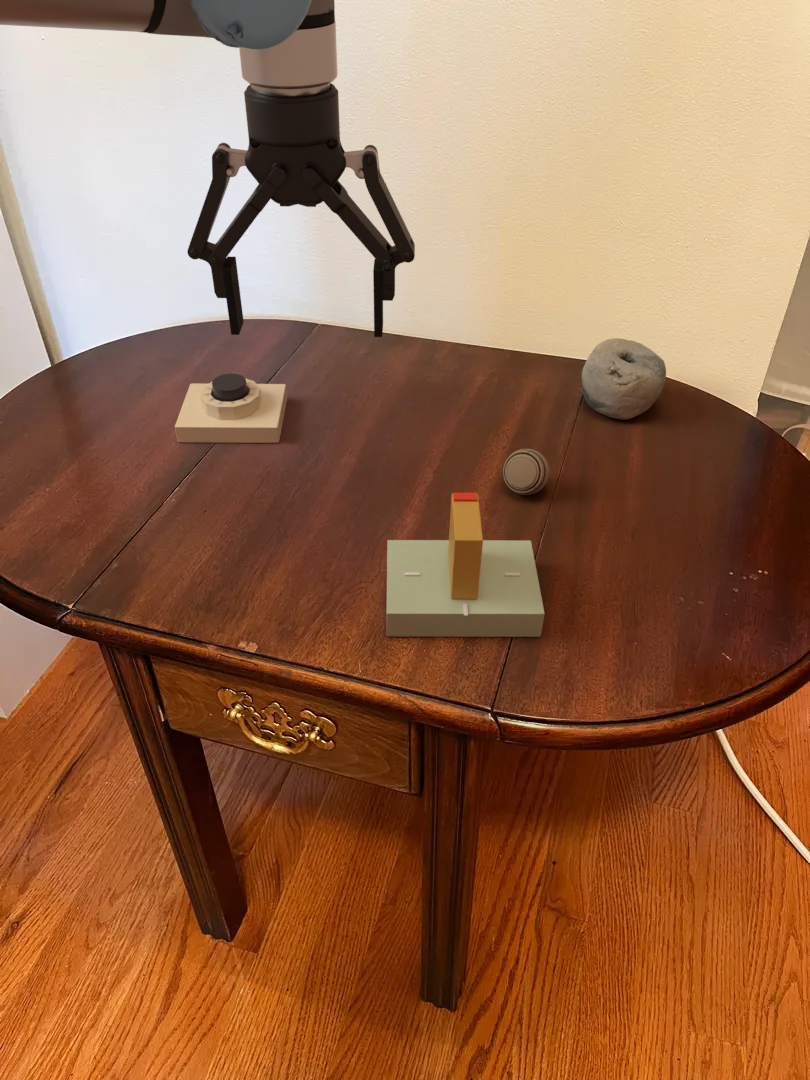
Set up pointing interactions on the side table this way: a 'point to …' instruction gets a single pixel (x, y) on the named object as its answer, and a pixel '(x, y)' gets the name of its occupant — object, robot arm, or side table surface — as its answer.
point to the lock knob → (465, 546)
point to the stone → (622, 378)
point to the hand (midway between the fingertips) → (308, 329)
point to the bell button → (229, 387)
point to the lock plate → (430, 611)
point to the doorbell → (232, 415)
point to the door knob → (526, 471)
